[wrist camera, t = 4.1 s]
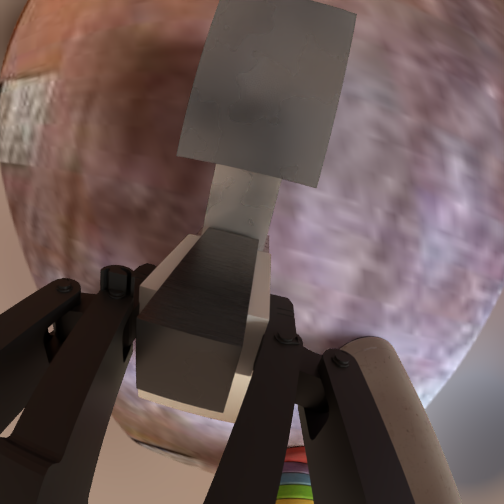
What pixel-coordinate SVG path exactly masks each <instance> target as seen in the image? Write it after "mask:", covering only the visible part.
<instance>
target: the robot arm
mask: <svg viewBox="0 0 504 504" xmlns="http://www.w3.org/2000/svg"><path fill="white" fill-rule="evenodd" d="M199 238H200V236H196V235H192V234H188V235H187V236H186V237H185V238H184V239H183V240H182V241H181V243H180V244H179V245H178V246H177V247H176V248H175V249H174V250H173V251H172V252H171V253H170V254H169V255H168V256H167V257H166V258H165V259H164V260H163V261H162V262H161V263H160V264H159V265H158V266H155V265H152V264H148V263H147V264H144V265H141V266H139V267H138V268H136V269H135V270H134V271H133V270H132V269H130V268H128V267H125V266H120V265H110V266H106V267H104V268H102V269H101V277H100V286H101V290H100V291H99V293H98V294H88V293H81V286H80V284H79V283H78V282H77V281H75V280H72V279H69V278H67V279H66V278H62V279H57V280H55V281H52V282H51V283H49V284H47V285H46V286H44V287H43V288H41V289H39V290H38V291H36V292H35V293H33V294H31V295H30V296H28V297H27V298H25V299H23V300H22V301H20V302H19V303H17V304H16V305H14V306H13V307H11V308H10V309H8V310H7V311H5V312H4V313H2V314H1V315H0V434H1V433H2V432H3V431H4V429H5V428H6V427H7V426H8V425H9V424H10V423H11V422H12V421H13V420H14V419H15V417H16V416H17V415H18V414H19V413H20V412H21V411H22V410H23V408H25V409H24V411H23V412H22V415H21V416H20V419H19V420H18V422H17V424H16V426H15V428H14V430H13V432H12V434H11V435H10V436H9V437H7V438H3V437H0V504H88V497H89V492H90V488H91V484H92V480H93V476H94V472H95V468H96V464H97V460H98V456H99V453H100V449H101V446H102V443H103V439H104V436H105V432H106V429H107V426H108V422H109V419H110V416H111V413H112V410H113V407H114V404H115V401H116V397H117V394H118V391H119V389H120V386H121V383H122V380H123V377H124V374H125V371H126V368H127V366H128V363H129V360H130V357H131V355H132V352H133V341H134V339H135V338H136V318H137V316H138V315H139V314H140V312H141V311H142V310H143V309H144V307H145V306H146V305H147V303H148V302H149V301H150V299H151V298H152V297H153V296H154V294H155V293H156V292H157V290H158V289H159V288H160V287H161V285H162V284H163V283H164V282H165V280H166V279H167V278H168V276H169V275H170V274H171V273H172V271H173V270H174V269H175V268H176V266H177V265H178V264H179V263H180V262H181V260H182V259H183V258H184V257H185V255H186V254H187V253H188V252H189V250H190V249H191V248H192V247H193V246H194V244H195V243H196V242H197V241H198V240H199ZM270 274H271V254H270V253H265V252H261V251H257V257H256V263H255V270H254V276H253V283H252V289H251V296H250V302H249V309H248V315H247V322H246V328H245V335H244V341H243V347H242V351H241V354H240V358H239V361H238V365H237V368H236V372H235V373H236V374H241V375H246V376H251V373H252V371H253V374H252V377H251V380H250V382H249V385H248V388H247V391H246V394H245V396H244V399H243V402H242V405H241V408H240V410H239V413H238V416H237V419H236V421H235V424H234V427H233V429H232V432H231V435H230V437H229V440H228V443H227V445H226V448H225V450H224V453H223V456H222V458H221V461H220V463H219V466H218V468H217V471H216V473H215V476H214V479H213V481H212V483H211V486H210V488H209V491H208V493H207V496H206V498H205V501H204V503H203V504H276V499H277V495H278V490H279V486H280V481H281V476H282V471H283V466H284V461H285V456H286V451H287V445H288V440H289V434H290V428H291V423H292V417H293V410H294V404H297V405H298V411H299V417H300V423H301V428H302V434H303V440H304V446H305V452H306V458H307V464H308V470H309V476H310V482H311V488H312V494H313V501H314V504H415V501H414V498H413V496H412V493H411V490H410V487H409V485H408V482H407V479H406V477H405V474H404V471H403V469H402V466H401V463H400V461H399V458H398V456H397V453H396V451H395V448H394V446H393V443H392V441H391V438H390V436H389V433H388V431H387V429H386V426H385V424H384V421H383V419H382V417H381V414H380V412H379V410H378V407H377V405H376V403H375V400H374V398H373V396H372V393H371V391H370V389H369V387H368V384H367V382H366V380H365V378H364V375H363V373H362V371H361V369H360V366H359V364H358V362H357V361H356V359H355V358H354V357H353V356H352V355H351V354H349V353H348V352H346V351H344V350H340V349H328V350H326V351H325V352H324V354H323V356H322V355H319V354H316V353H314V352H312V351H310V350H308V349H306V348H305V347H303V342H302V339H301V337H300V336H299V335H298V334H297V333H296V327H295V318H294V309H293V304H292V303H291V301H290V300H289V299H288V298H285V297H281V296H277V295H272V294H270ZM52 324H53V328H54V330H53V331H52V332H51V333H49V332H48V327H49V326H51V325H52Z"/></svg>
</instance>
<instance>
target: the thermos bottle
mask: <svg viewBox="0 0 504 504" xmlns="http://www.w3.org/2000/svg"><path fill="white" fill-rule="evenodd" d="M340 350H344V351H346V352H348V353H349V354H351V355H352V356H353V357H354V358H355V359H356V361H357V362H358V364H359V366H360V369H361V371H362V373H363V375H364V378H365V380H366V382H367V384H368V387H369V389H370V391H371V393H372V396H373V398H374V400H375V403H376V405H377V407H378V410H379V412H380V414H381V417H382V419H383V421H384V424H385V426H386V429H387V431H388V433H389V436H390V438H391V441H392V443H393V446H394V448H395V451H396V453H397V456H398V458H399V461H400V463H401V466H402V469H403V471H404V474H405V477H406V479H407V482H408V485H409V487H410V490H411V493H412V496H413V498H414V501H415V504H462V501H461V499H460V496H459V493H458V490H457V487H456V484H455V482H454V479H453V477H452V474H451V471H450V468H449V466H448V463H447V461H446V458H445V456H444V453H443V451H442V448H441V446H440V444H439V441H438V439H437V437H436V434H435V432H434V430H433V427H432V425H431V423H430V421H429V418H428V416H427V414H426V412H425V410H424V408H423V405H422V403H421V401H420V399H419V397H418V395H417V393H416V391H415V389H414V387H413V385H412V383H411V381H410V379H409V377H408V375H407V373H406V371H405V369H404V367H403V365H402V363H401V361H400V359H399V357H398V355H397V353H396V351H395V349H394V348H393V346H392V345H391V344H390V343H389V342H388V341H386V340H384V339H382V338H378V337H365V338H360V339H357V340H354V341H352V342H349V343H347V344H346V345H344V346H343V347H341V348H340Z"/></svg>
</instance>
